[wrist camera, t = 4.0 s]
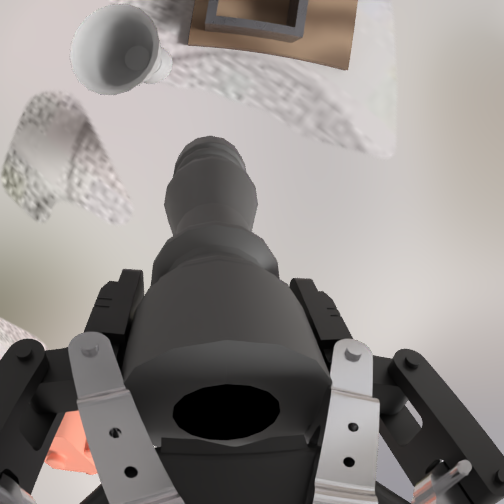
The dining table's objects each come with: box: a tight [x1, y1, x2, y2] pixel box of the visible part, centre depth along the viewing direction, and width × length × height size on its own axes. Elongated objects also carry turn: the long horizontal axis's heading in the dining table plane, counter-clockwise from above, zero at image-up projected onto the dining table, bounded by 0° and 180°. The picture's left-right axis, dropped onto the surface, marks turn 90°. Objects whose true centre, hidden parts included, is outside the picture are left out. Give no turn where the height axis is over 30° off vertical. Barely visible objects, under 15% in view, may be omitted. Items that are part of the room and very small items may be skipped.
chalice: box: [70, 4, 173, 95], centre depth 26 cm, size 7×7×18 cm
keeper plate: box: [188, 0, 358, 70], centre depth 31 cm, size 14×20×2 cm
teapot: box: [44, 410, 97, 475], centre depth 54 cm, size 25×23×18 cm
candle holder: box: [121, 136, 333, 447], centre depth 19 cm, size 6×6×25 cm
